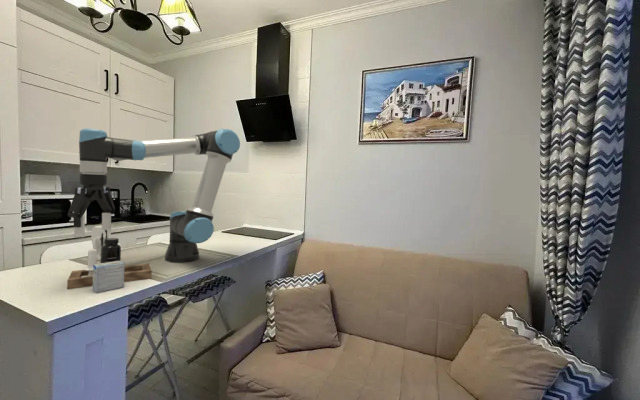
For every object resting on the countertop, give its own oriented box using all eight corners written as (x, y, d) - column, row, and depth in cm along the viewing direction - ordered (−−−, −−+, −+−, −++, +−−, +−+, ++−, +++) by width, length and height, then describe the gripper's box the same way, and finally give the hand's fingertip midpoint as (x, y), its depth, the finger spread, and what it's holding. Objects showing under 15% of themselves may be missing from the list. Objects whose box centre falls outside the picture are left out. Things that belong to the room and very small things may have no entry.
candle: (92, 278, 104) (93, 246, 103) (105, 279, 103) (105, 247, 102) (78, 282, 98) (78, 249, 98) (91, 284, 98) (92, 250, 97)
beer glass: (113, 258, 129) (113, 226, 128) (94, 261, 123) (95, 228, 123) (106, 256, 133) (107, 224, 132) (88, 258, 127) (88, 226, 126)
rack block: (148, 270, 116) (149, 262, 116) (151, 278, 107) (151, 269, 107) (72, 279, 102) (72, 270, 102) (67, 289, 93) (67, 279, 93)
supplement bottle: (109, 270, 113) (110, 241, 113) (95, 268, 115) (96, 239, 114) (124, 265, 120) (125, 238, 120) (111, 264, 121) (112, 236, 121)
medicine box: (120, 284, 100) (120, 260, 99) (124, 287, 97) (124, 262, 96) (92, 289, 93) (92, 264, 93) (95, 293, 91) (96, 267, 90)
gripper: (105, 174, 111) (106, 227, 112) (51, 172, 86) (52, 240, 87) (125, 175, 112) (125, 227, 113) (77, 173, 87) (78, 240, 88)
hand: (94, 233), depth 100 cm, fingers open, 13 cm apart
